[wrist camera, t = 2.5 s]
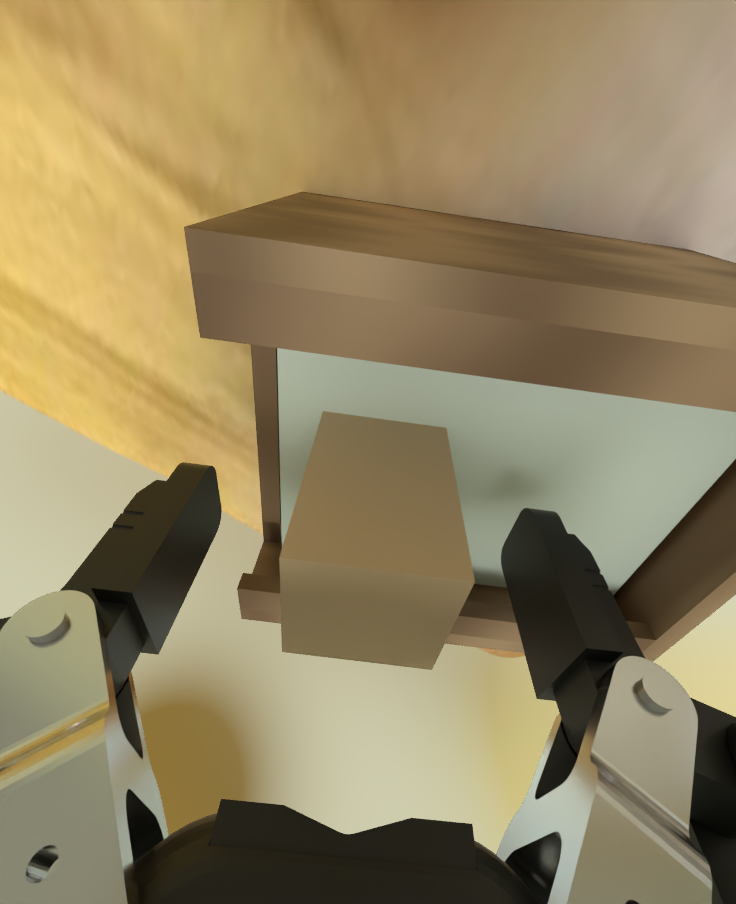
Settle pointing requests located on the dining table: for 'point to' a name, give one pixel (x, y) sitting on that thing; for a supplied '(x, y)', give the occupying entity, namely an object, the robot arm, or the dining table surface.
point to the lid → (459, 492)
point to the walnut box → (482, 354)
